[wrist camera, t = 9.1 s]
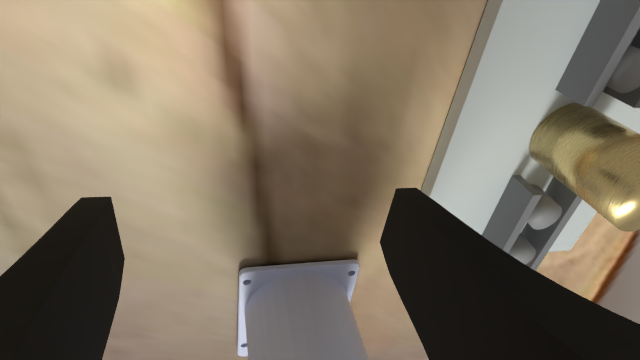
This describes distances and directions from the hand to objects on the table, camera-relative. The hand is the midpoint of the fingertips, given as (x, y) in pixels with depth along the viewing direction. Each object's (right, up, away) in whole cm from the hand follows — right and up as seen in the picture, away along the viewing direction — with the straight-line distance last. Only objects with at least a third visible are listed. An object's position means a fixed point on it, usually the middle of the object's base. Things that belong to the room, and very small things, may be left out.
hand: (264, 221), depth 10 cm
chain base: (+15, +4, +13) cm, 20 cm away
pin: (+15, +4, +12) cm, 20 cm away
